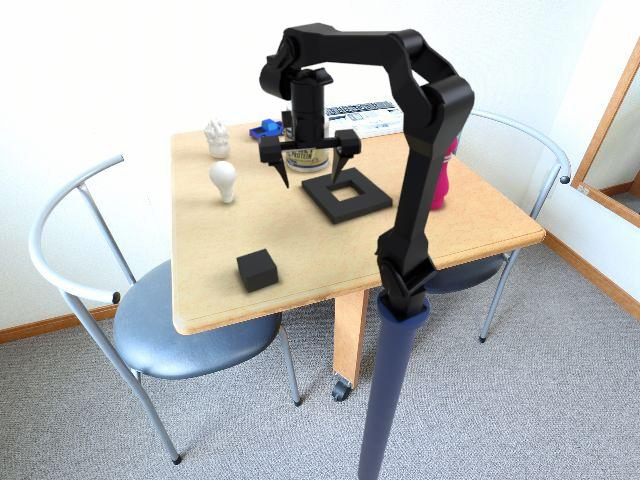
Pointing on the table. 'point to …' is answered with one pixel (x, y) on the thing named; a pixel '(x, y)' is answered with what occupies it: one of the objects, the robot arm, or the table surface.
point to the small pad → (257, 270)
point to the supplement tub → (307, 151)
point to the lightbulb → (223, 179)
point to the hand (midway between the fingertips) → (310, 185)
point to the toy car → (267, 129)
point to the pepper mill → (443, 180)
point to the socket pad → (351, 207)
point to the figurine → (217, 138)
